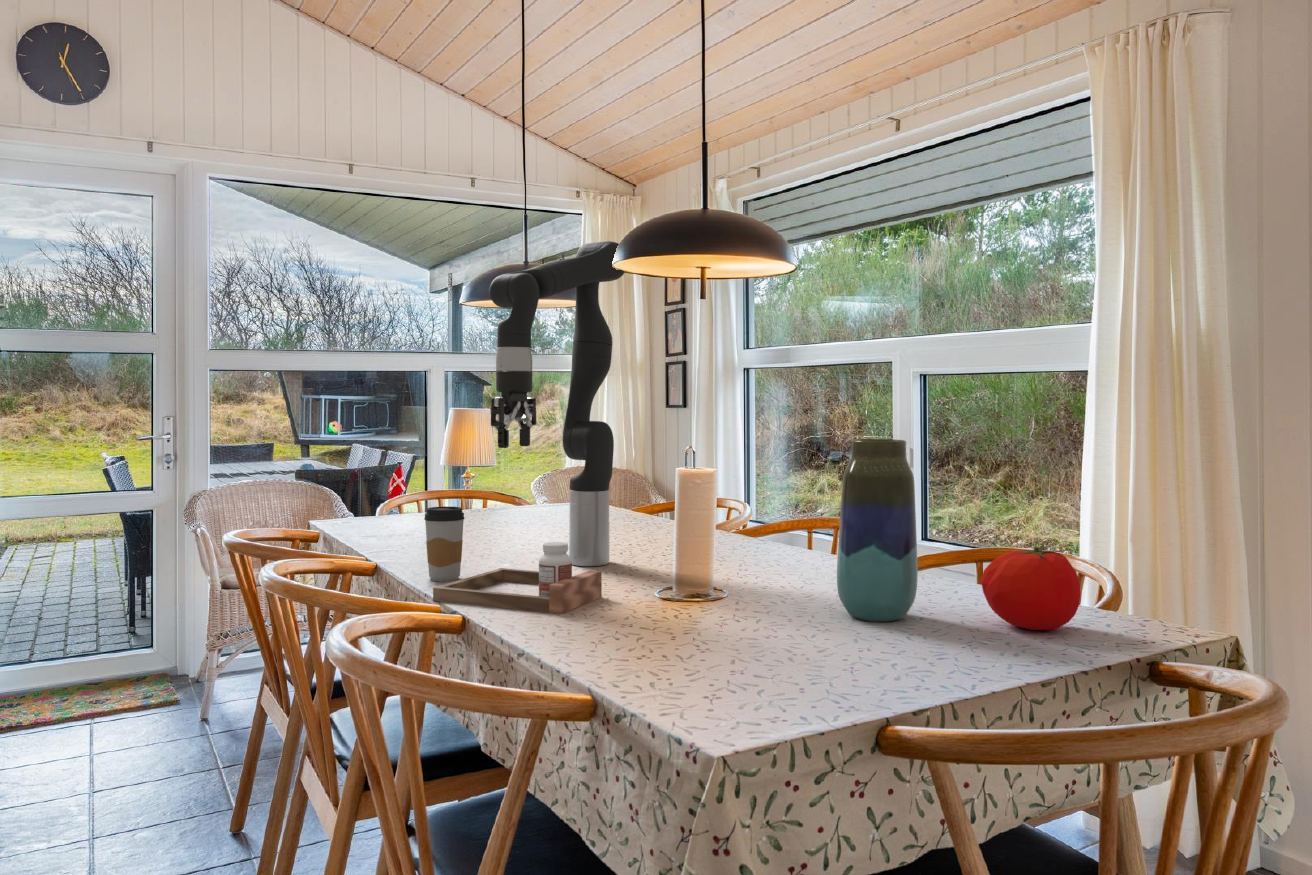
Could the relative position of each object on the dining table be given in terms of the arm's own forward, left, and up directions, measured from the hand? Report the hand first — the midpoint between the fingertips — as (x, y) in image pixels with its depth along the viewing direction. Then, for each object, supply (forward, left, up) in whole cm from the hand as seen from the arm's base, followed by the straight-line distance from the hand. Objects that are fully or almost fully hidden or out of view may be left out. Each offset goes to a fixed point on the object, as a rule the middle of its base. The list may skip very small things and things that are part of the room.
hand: (514, 447), depth 197 cm
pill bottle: (+16, +19, -28) cm, 37 cm away
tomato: (+1, +101, -28) cm, 105 cm away
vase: (+3, +76, -28) cm, 81 cm away
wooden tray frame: (+12, +11, -28) cm, 32 cm away
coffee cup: (+5, -14, -28) cm, 32 cm away
